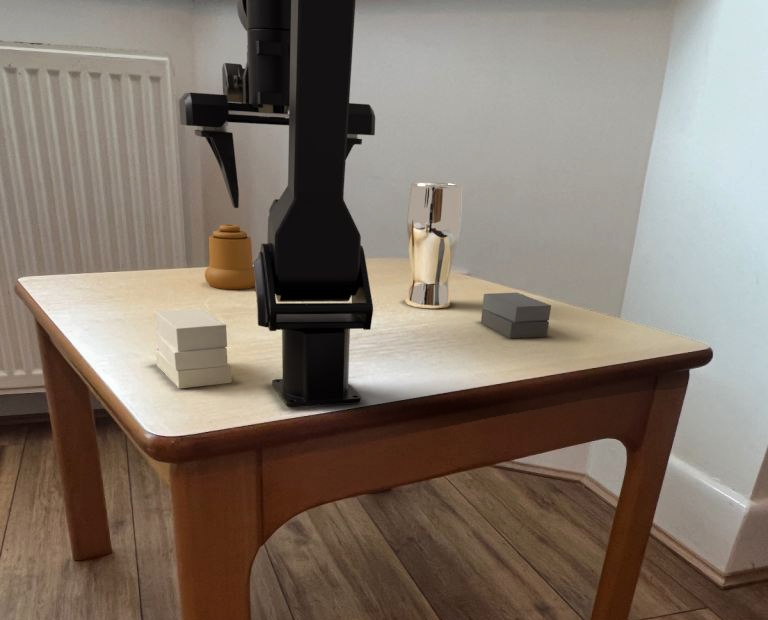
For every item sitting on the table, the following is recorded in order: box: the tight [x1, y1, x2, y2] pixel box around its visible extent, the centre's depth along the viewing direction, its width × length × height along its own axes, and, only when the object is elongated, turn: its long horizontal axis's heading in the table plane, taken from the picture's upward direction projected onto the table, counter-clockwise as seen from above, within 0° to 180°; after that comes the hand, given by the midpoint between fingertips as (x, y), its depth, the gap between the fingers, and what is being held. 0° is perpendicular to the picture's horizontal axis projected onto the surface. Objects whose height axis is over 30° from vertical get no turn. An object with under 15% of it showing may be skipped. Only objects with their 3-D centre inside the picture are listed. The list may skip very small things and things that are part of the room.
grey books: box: [480, 292, 552, 339], centre depth 90 cm, size 8×5×4 cm
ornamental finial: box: [204, 223, 255, 290], centre depth 104 cm, size 8×8×8 cm
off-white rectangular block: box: [154, 307, 228, 351], centre depth 67 cm, size 7×4×2 cm, turn 30°
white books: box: [154, 332, 233, 390], centre depth 68 cm, size 8×5×3 cm, turn 30°
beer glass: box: [405, 181, 464, 310], centre depth 98 cm, size 7×7×15 cm
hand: (279, 208), depth 78 cm, fingers open, 9 cm apart
